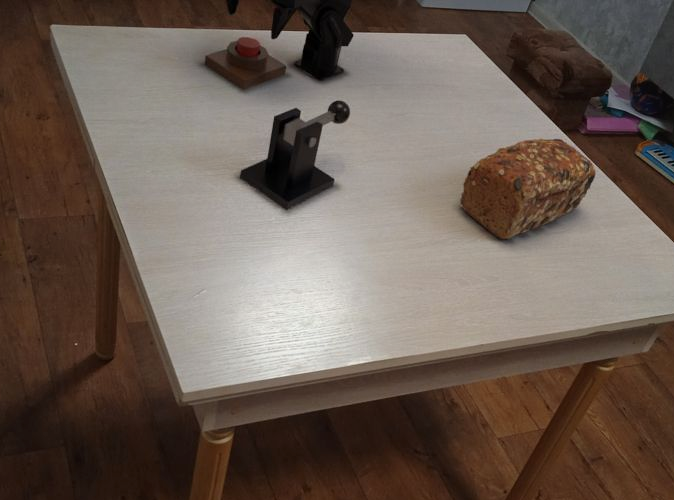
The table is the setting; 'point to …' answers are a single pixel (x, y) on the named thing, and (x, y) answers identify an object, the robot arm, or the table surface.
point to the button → (248, 46)
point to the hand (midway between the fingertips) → (252, 26)
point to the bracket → (290, 164)
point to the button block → (245, 66)
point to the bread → (526, 186)
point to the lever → (318, 120)
